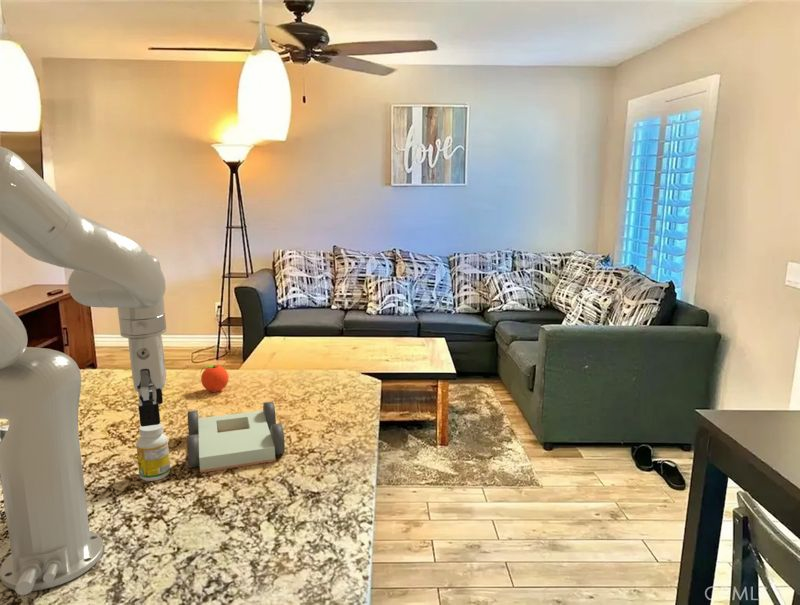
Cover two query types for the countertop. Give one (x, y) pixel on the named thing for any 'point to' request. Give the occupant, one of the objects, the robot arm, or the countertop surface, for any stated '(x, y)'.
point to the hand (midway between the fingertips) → (152, 414)
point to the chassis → (234, 439)
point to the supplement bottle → (153, 453)
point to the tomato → (214, 378)
